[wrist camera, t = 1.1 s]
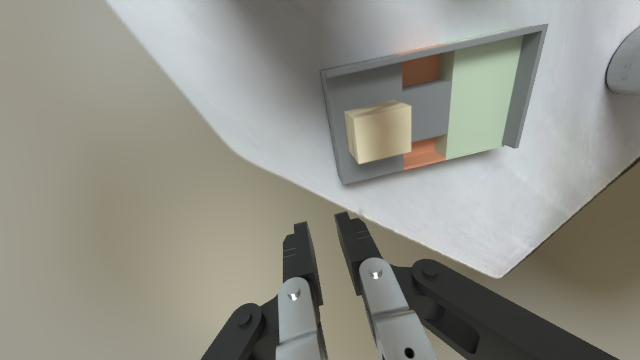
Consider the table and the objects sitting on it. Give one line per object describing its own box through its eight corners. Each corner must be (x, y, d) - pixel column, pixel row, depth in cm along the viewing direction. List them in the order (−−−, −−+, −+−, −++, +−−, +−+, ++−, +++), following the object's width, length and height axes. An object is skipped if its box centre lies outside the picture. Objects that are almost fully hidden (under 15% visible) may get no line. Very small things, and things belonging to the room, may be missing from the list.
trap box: (505, 29, 27) (548, 23, 23) (487, 139, 34) (517, 151, 30) (320, 70, 27) (327, 72, 22) (338, 175, 33) (346, 192, 29)
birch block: (394, 100, 26) (411, 105, 23) (395, 140, 29) (411, 151, 25) (343, 111, 26) (353, 119, 23) (349, 151, 28) (358, 164, 25)
